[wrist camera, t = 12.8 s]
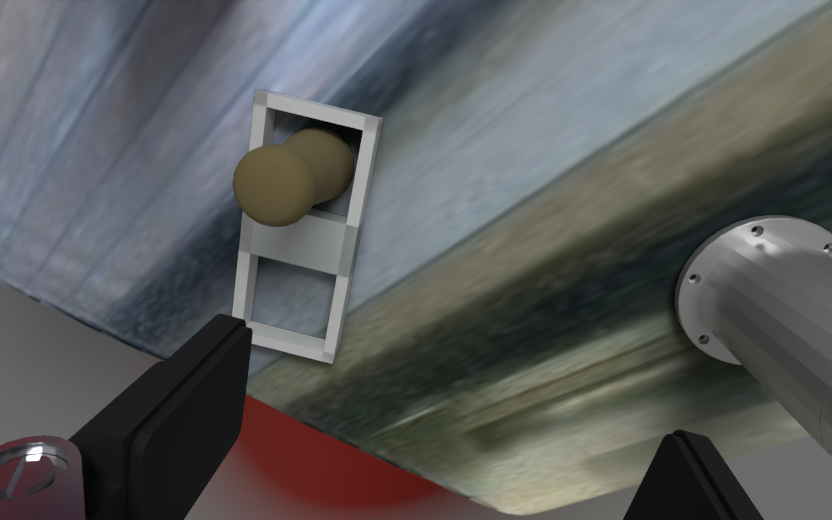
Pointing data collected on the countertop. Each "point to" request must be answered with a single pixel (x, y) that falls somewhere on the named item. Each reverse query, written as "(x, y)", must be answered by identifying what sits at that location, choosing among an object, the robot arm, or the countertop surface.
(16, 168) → the countertop surface
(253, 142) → the socket frame
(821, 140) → the countertop surface
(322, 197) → the cork
